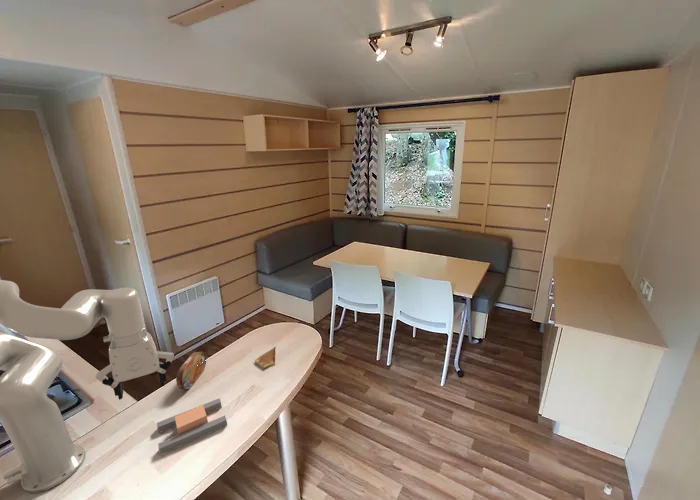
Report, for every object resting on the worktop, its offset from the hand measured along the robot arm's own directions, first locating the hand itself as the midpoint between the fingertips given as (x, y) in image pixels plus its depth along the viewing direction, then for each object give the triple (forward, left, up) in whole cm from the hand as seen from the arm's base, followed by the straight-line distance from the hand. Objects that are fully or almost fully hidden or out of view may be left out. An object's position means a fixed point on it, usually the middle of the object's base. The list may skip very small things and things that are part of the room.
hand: (142, 389), depth 87 cm
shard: (+38, +19, -20) cm, 47 cm away
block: (+10, -1, -19) cm, 21 cm away
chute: (+10, -1, -19) cm, 21 cm away
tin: (+13, +22, -19) cm, 32 cm away
